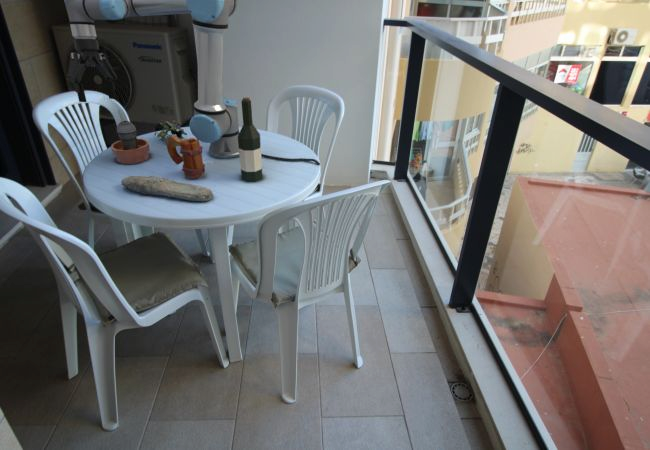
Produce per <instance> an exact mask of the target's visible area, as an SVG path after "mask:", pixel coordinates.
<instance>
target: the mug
mask: <svg viewBox="0 0 650 450" xmlns="http://www.w3.org/2000/svg"><path fill="white" fill-rule="evenodd" d="M170 136H171V135H170ZM177 147H180V149H179V152H178V150H177ZM166 150H167V153H168V156H169V157H170V159H171V160H172V162H173V163H175V165H178V166H179V165H180V164H182V169H181V171H182V172H183V174H184V176H185V177H187V178H188V179H192V180H193V179H199V178H201V177H203V176H204V175H205V172H206V164H205V163H204V162H203V154H202V153H203V146H201V144H200V141H199V140H198V139H197V138H196V137H189V138H181V139H179V138H178V137H177V136H176V134H175V135H172V136H171V137H169V139H168V140H167V141H166ZM180 154H181V155H180Z"/></svg>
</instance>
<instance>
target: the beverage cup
mask: <svg viewBox="0 0 650 450" xmlns="http://www.w3.org/2000/svg"><path fill="white" fill-rule="evenodd" d="M117 111H118V114H119V118H120V120H121V121H120V122H118V124H117V126H116V133H117V135H118V138H119V139H120V140H119V141H121V142H122V145H123V148H124V150H132V149H137V148H138V144H137V138H138V137H137V135H138V133H137V128H136V125H134V124H133V123H132V122H131V121H129V120H124V119H123V116H122V114H121V110H120V109H117Z"/></svg>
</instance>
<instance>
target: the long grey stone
mask: <svg viewBox="0 0 650 450" xmlns="http://www.w3.org/2000/svg"><path fill="white" fill-rule="evenodd" d="M120 183H121V185H122V186H123V187H124V189H126V190H127V189H129V190H130V191H133V192H137V193H141V194H142V195H154V196H165V197H168V198H175V199H181V200H184V201H185V200H186V201H190V202H207V201H210V200H212V199H213V198H214V193H213V191H212V190H211V189H210V188H207V187H205V186H201V185H195V184H191V183H186V182H185V183H184V182H178V181H175V180H170V179H169V178H166V177H160V176H151V175H149V176H147V175H146V176H145V175H141V176H140V175H138V176H136V175H129V176H126V177H124V178H122V180H121V182H120Z"/></svg>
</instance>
